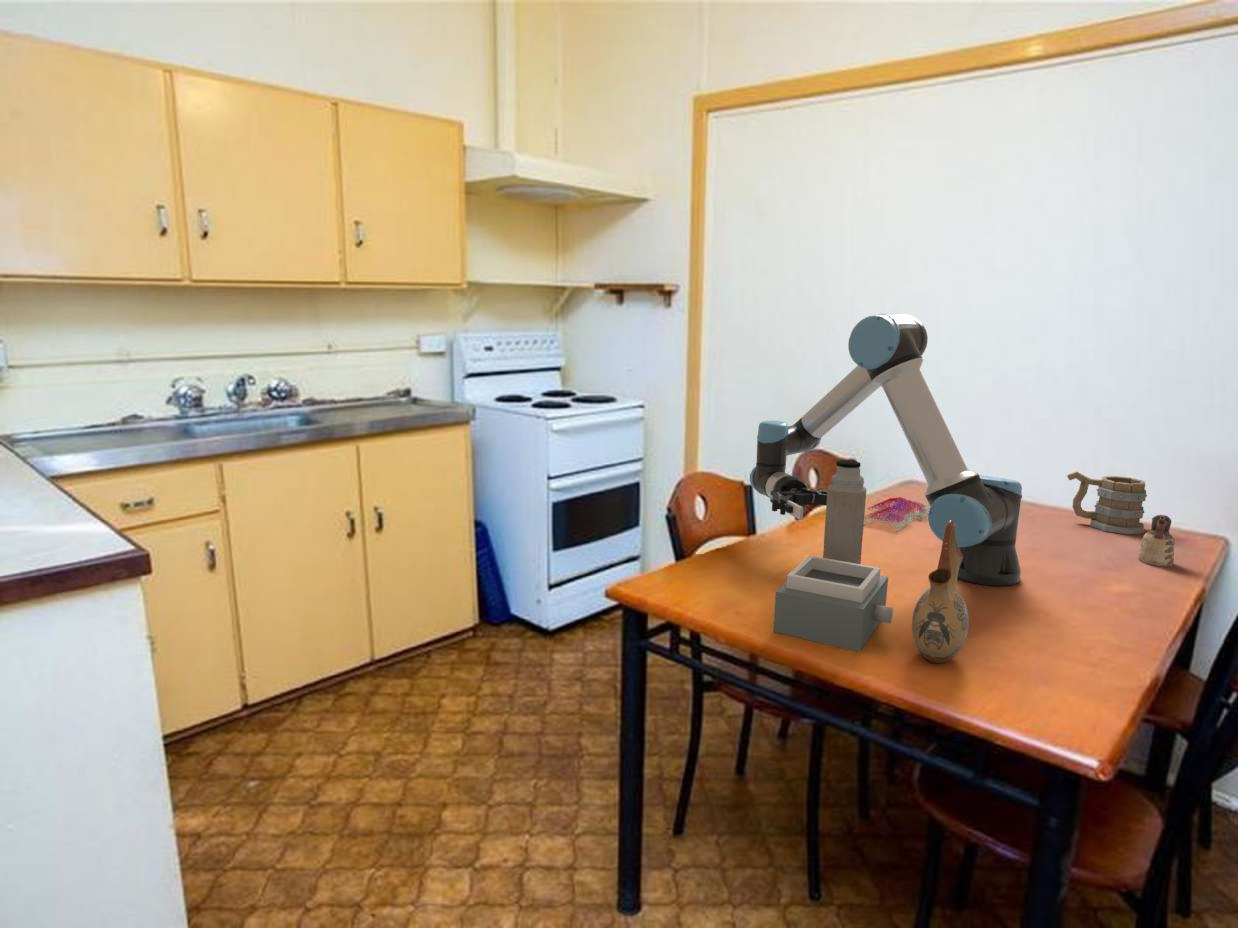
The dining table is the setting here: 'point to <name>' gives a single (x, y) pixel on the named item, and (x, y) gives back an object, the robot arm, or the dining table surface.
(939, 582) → the ceramic vessel
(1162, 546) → the figurine
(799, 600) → the box
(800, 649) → the dining table surface
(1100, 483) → the tankard
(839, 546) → the thermos bottle
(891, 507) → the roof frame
